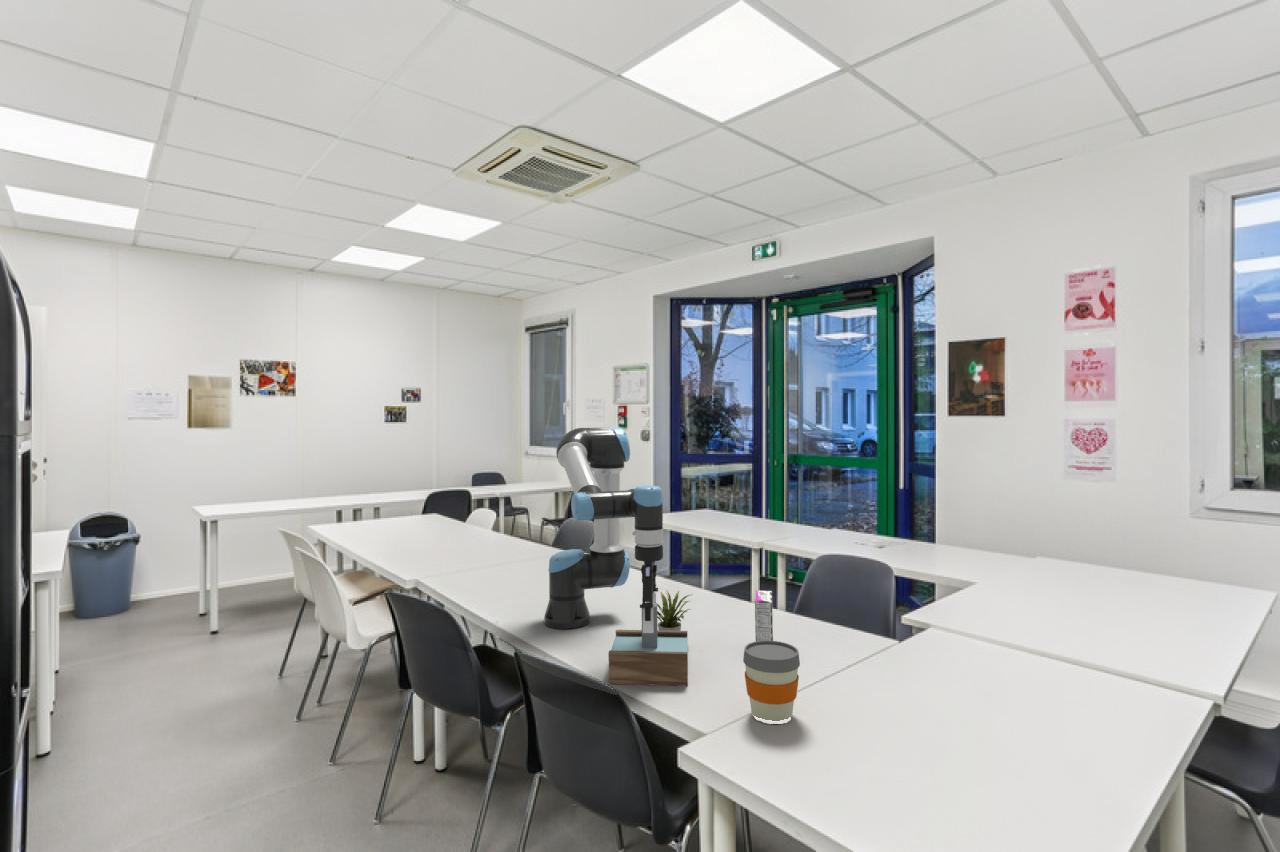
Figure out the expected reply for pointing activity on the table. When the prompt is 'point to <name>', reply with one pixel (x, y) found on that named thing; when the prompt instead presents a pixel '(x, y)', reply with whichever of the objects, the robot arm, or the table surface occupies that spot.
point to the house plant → (670, 613)
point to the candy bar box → (763, 616)
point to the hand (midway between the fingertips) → (649, 624)
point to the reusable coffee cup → (771, 678)
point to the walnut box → (648, 664)
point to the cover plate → (661, 644)
